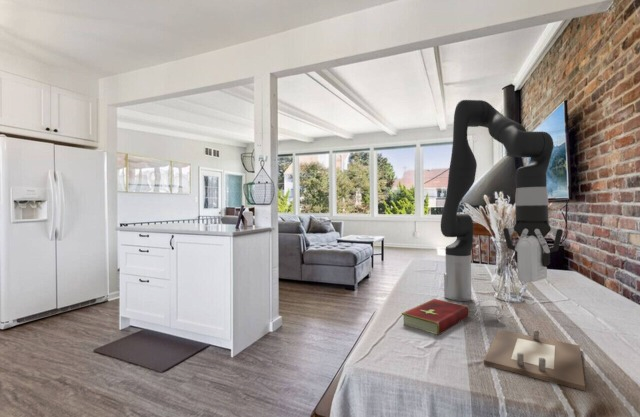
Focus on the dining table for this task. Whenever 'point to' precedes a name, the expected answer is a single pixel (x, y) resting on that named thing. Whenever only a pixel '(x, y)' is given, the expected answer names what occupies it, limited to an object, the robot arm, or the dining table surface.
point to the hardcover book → (435, 315)
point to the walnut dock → (537, 358)
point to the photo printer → (530, 260)
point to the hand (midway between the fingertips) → (532, 265)
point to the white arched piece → (487, 305)
